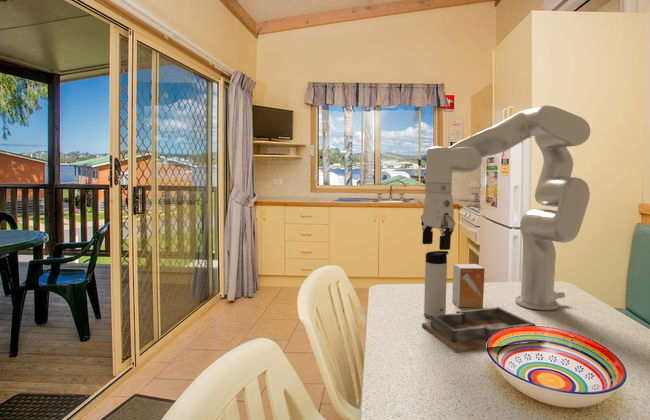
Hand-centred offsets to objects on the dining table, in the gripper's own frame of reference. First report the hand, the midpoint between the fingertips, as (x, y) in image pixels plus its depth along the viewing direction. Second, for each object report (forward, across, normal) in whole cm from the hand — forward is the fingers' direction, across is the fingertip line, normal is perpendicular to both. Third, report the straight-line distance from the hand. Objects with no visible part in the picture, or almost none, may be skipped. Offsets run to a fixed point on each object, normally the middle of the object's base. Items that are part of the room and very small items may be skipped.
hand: (435, 246), depth 118 cm
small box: (+21, +7, -17) cm, 28 cm away
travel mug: (+22, 0, -1) cm, 22 cm away
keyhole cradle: (+21, -15, -5) cm, 27 cm away
